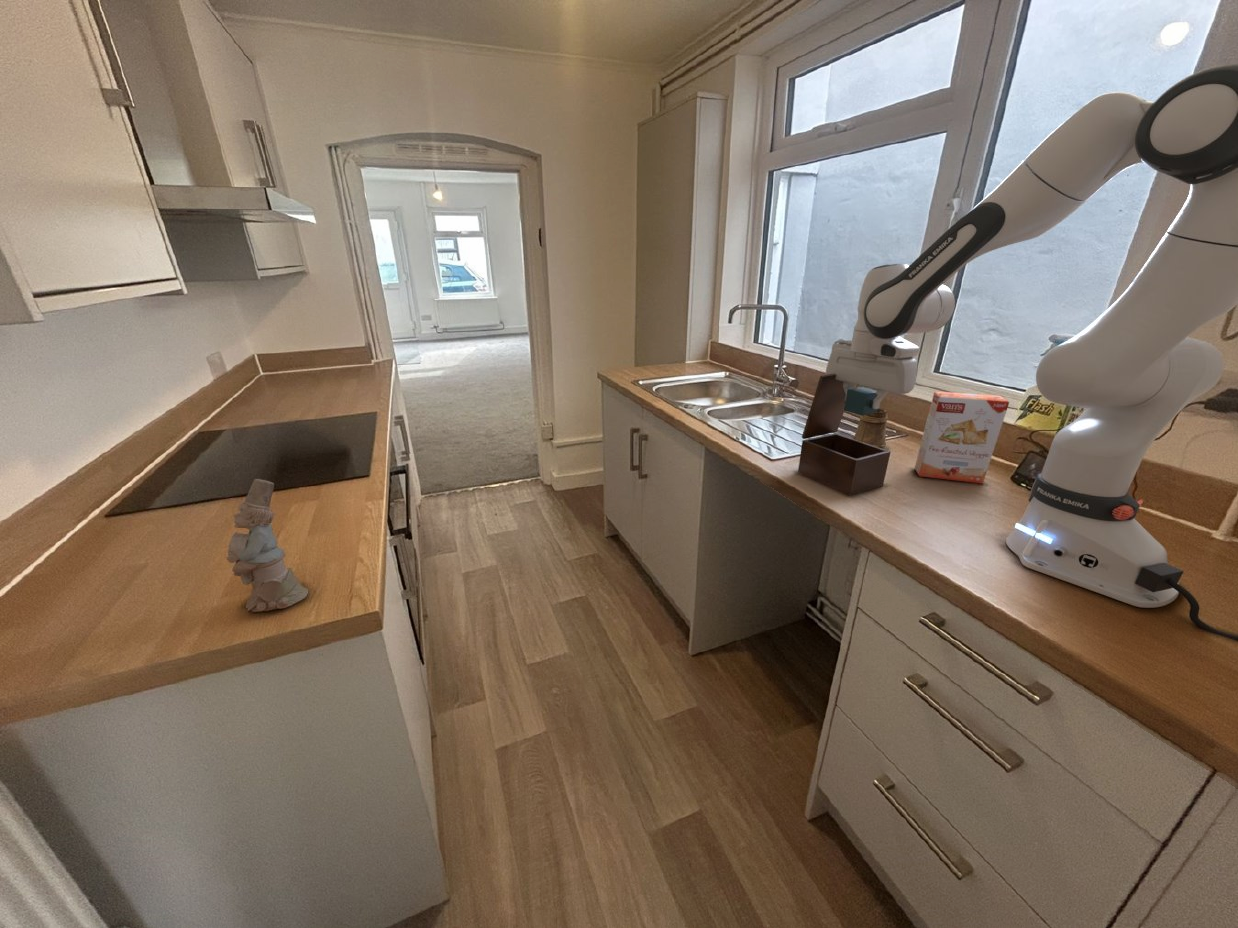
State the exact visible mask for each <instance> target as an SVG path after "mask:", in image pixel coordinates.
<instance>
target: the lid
mask: <svg viewBox="0 0 1238 928" xmlns="http://www.w3.org/2000/svg"><path fill="white" fill-rule="evenodd" d="M835 378H836V374H828V375H826V374H821V375H820V376H819V379H818V382H817V386H816V388H815V389H816V390H815V392H814V396H813V399H812V402H811V405H810V407H809V408H810V409H809V412H808V416H807V418H806V421H805V426H804V427H803V428H804V429H803V432H802V435H801V439H803V440H807V439H811V438H816V437H820V436H825V435H829V434H834V433H837V432H838V430H839V428H840V425H841V421H842V419H843V416H844V413H845V410H844V407H845V397H846V394H845V391H844V388H843V381H839V380H835ZM853 387H854V386H852V388H853Z"/></svg>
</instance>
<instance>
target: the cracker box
mask: <svg viewBox="0 0 1238 928" xmlns="http://www.w3.org/2000/svg"><path fill="white" fill-rule="evenodd" d="M1009 405H1010V401H1009V400H1008V399H1006V398H1004V397H1003V396H1002V395H997V394H996V395H995V394H981V393H980V394H979V393H965V392H953V391H934V392H933V395H932V398H931V403H930V407H929V411H928V415H927V418H926V422H925V426H924V430H923V434H922V437H921V442H920V446H919V449H918V453H917V458H916V461H915V464H914V470H915V471H916V473H917V475H918V477H923V478H931V479H940V480H950V481H958V482H966V483H967V482H968V483H974V484H975V483H976V484H984V482H985V478H986V475H987V474H988V469H989V466H990V462H991V461H992V457H993V454H994V450H995V448H996V444H997V442H998V438H999V435H1000V432H1001V429H1002V426H1003V424H1004V420H1005V417H1006V413H1007V411H1008V407H1009Z"/></svg>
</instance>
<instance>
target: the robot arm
mask: <svg viewBox="0 0 1238 928" xmlns="http://www.w3.org/2000/svg"><path fill="white" fill-rule="evenodd" d="M1139 164H1145V165H1146V166H1147V167H1148V168H1150V169H1152V170H1154V171H1156V172H1158V173H1161V174H1164V175H1166V176H1169V177H1172V178H1174V179H1176V180H1178V181H1180V182H1183V183H1185V184H1187V185H1190V189H1189V194H1188V196H1187V199H1186V201H1184V204H1183V206H1182V207H1181V209H1180V211H1179V212H1178V214H1177V215H1176V217H1175V219H1174V220H1173V222H1172V223H1171V224H1170V226H1169V227H1168V229H1167V230H1166V232H1165V234H1164V235H1163V236H1162V238H1161V240H1160V241H1159V243H1158V244H1157V246H1156V247H1155V249H1154V250H1153V252H1152V253H1151V255H1150V256H1149V258H1148V259H1147V260H1146V262H1145V263H1144V265H1142V266H1143V267H1142V268H1141V269H1140V271H1139V272H1138V273H1137V275H1136V276H1135V278H1134V279H1133V281H1132V282H1131V283H1130V284H1129V286H1128V287H1127V288H1126V289H1125V290H1124V292H1123V293H1122V294H1121V295H1120V296H1119V297H1118V298H1117V299H1116V300H1115V301H1114V302H1113V303H1112V304H1111V305H1110V306H1109V307H1108V308H1107V309H1106V310H1105V311H1103V312H1102V313H1101V314H1100V315H1099V316H1098V317H1097V318H1096V319H1094V321H1093V322H1091V323H1090V324H1089V325H1088V326H1086V327H1084V329H1082V330H1081V331H1080V332H1078V333H1077V334H1076V335H1074V336H1073V337H1071V338H1069V339H1068V340H1066V341H1063V342H1062V343H1060V344H1058V345H1056V346H1054V347H1052V348H1051V349H1050V350H1048V351H1047V352H1046V353H1045V355H1044V356H1043V357H1041V359H1040V361H1039V363H1038V365H1037V368H1036V371H1035V372H1036V373H1035V382H1036V383H1035V384H1036V386H1037V389H1038V391H1039V393H1040V394H1041V395H1042V396H1043V397H1044V398H1045V399H1046V400H1047V401H1050V402H1051V403H1054V404H1059V405H1064V406H1069V407H1075V408H1081V409H1085V410H1084V411H1083V412H1082V413H1081V414H1080V415H1079V416H1078V417H1077V418H1076V419H1074V420H1073V421H1072V422H1071V423H1069V424H1067V425H1065V426H1064V427H1063V428H1061V429H1060V430H1059V431H1058V432H1057V433H1056V434H1055V435H1054V437H1053V439H1052V442H1051V445H1050V447H1049V451H1048V454H1047V456H1046V459H1045V462H1044V464H1043V467H1042V470H1041V473H1037V476H1036V479H1035V480H1034V482H1033V484H1032V486H1031V489H1030V493H1029V498H1028V502H1029V503H1028V505H1027V507H1026V509H1025V511H1024V512H1023V515H1022V516H1021V518H1020V519H1019V522H1017V523H1015V526H1014V528H1013V530H1012V531H1011V533H1010V534H1009V535H1008V536H1007V537H1006V538H1005V543H1006V546H1007V547H1008V549H1010V551H1012V552H1013V553H1014V554H1015V555H1016V556H1017V557H1018V558H1019V561H1020V563H1021V564H1022V565H1023V566H1024V567H1025V568H1027V569H1030V570H1033V571H1036V572H1039V573H1042V574H1044V575H1047V576H1050V577H1052V578H1056V579H1058V580H1061V581H1064V582H1067V583H1069V584H1072V585H1074V586H1078V587H1080V588H1083V589H1086V590H1089V591H1092V592H1093V593H1094V592H1095V593H1097V594H1100V595H1102V596H1106V597H1108V598H1111V599H1114V600H1117V601H1120V602H1121V603H1124V604H1128V605H1131V606H1133V607H1138V608H1142V609H1143V608H1144V609H1151V608H1154V609H1155V608H1160V607H1164V606H1167V605H1169V604H1171V603H1172V602H1174V601H1175V600H1176V599H1177V598H1178V596H1179V595H1181V596H1182V597H1183V598H1185V600H1186V601H1187V602H1188V604H1189V614H1188V616H1189V619H1190V621H1191V622H1192V623H1193V624H1194V625H1195V626H1197V627H1198V628H1200V629H1202V630H1204V631H1207V632H1209V633H1212V634H1216V635H1219V636H1223V637H1225V638H1228V639H1231V640H1234V641H1238V635H1236V634H1232V633H1228V632H1224V631H1221V630H1218V629H1216V628H1213V627H1212V626H1210V625H1208V624H1206V623H1205V622H1204V621H1203V620H1201V619H1200V617H1199V612H1200V605H1199V603H1198V600H1197V599H1196V598H1195V596H1194V595H1193V594H1192V593H1191V592H1190V591H1188V590H1187V589H1186V588H1184V587H1183V586H1182V585H1181V584H1180V583H1179V581H1180V579H1181V577H1182V576H1183V573H1184V570H1182V569H1181V568H1177V567H1176V566H1174V565H1171V564H1168V559H1169V557H1168V553H1167V549H1166V548H1165V547H1164V546H1163V545H1162V544H1161V543H1160V542H1159V541H1158V540H1157V539H1155V537H1154V536H1152V534H1151V533H1150V532H1148V530H1147V529H1145V528H1144V527H1143V526H1142V524H1140V522H1138V520H1136V519H1135V517H1137V514H1138V512H1139V510H1140V508H1141V507H1142V504H1143V503H1144V500H1143V499H1140V500H1138V501H1137V500H1136V499H1135V498H1134V497H1133V495H1131V494H1130V493H1129V489H1130V488H1131V487H1130V486H1131V484H1132V482H1133V480H1134V478H1135V476H1136V473H1137V472H1138V470H1139V467H1140V465H1141V464H1142V461H1143V459H1144V457H1145V455H1146V454H1147V452H1148V451H1149V448H1150V447H1151V446H1152V444H1153V443H1154V442H1155V441H1156V439H1157V438H1158V437H1159V435H1160V434H1161V433H1162V432H1163V431H1164V430H1165V428H1166V427H1167V426H1168V425H1169V424H1170V423H1171V422H1172V421H1173V420H1174V418H1175V417H1176V416H1177V415H1178V414H1179V413H1180V412H1181V411H1182V410H1183V409H1184V408H1186V406H1188V405H1189V404H1190V403H1191V402H1193V401H1194V400H1195V399H1197V398H1198V397H1201V396H1202V395H1204V394H1206V393H1208V392H1209V391H1210V390H1212V389H1213V388H1214V387H1215V386H1216V385H1217V384H1218V383H1219V381H1220V380H1221V378H1222V376H1223V374H1224V371H1225V360H1224V356H1223V353H1221V351H1220V350H1219V349H1218V347H1216V346H1215V345H1213V344H1211V343H1210V342H1207V341H1204V340H1201V339H1197V338H1193V337H1189V336H1191V335H1192V334H1193V333H1195V332H1196V331H1198V330H1199V329H1200V328H1201V327H1203V326H1205V325H1207V324H1208V323H1210V322H1212V321H1214V320H1216V319H1218V318H1220V317H1222V316H1224V315H1226V314H1227V313H1229V312H1230V311H1231V310H1232V309H1234V308H1235V307H1236V306H1238V63H1226V64H1221V65H1220V64H1219V65H1214V66H1211V67H1207V68H1204V69H1202V70H1199V71H1197V72H1195V73H1194V72H1193V74H1190V75H1188V76H1186V77H1184V78H1183V79H1181V80H1180V81H1178V82H1176V83H1174V84H1173V85H1172V86H1170V87H1169V88H1168V89H1166V90H1165V91H1164V92H1163V93H1162V94H1160V96H1159V97H1157V98H1156V99H1155V100H1154V101H1150V100H1146V99H1144V98H1143V97H1141V96H1138V95H1137V94H1133V93H1130V92H1124V91H1112V92H1106V93H1103V94H1100V95H1098V96H1096V97H1094V98H1092V99H1090V100H1089V101H1088V102H1086V103H1085V104H1084V105H1083V106H1082V107H1081V108H1079V109H1078V110H1076V111H1075V112H1074V113H1073V114H1071V116H1069V117H1068V118H1067V119H1066V120H1064V121H1063V122H1062V123H1061V124H1060V125H1059V126H1057V128H1055V129H1054V130H1053V131H1052V132H1051V133H1050V134H1049V135H1047V136H1046V137H1045V138H1044V139H1043V140H1042V141H1041V142H1040V143H1039V144H1038V145H1037V146H1036V147H1035V148H1034V149H1033V150H1031V152H1030V153H1029V154H1028V155H1027V156H1026V157H1025V158H1024V159H1023V160H1022V161H1021V163H1019V164H1018V166H1016V167H1015V168H1014V169H1013V171H1011V172H1010V174H1008V176H1006V178H1005V179H1004V180H1002V182H1000V184H999V185H997V186H996V187H995V188H994V189H993V190H991V192H990V193H988V194H987V196H986V197H984V198H983V199H982V200H981V201H980V202H979V203H978V204H976V205H975V206H974V207H973V208H972V209H970V210H969V211H967V213H965V215H963V216H962V217H961V218H960V219H959V220H957V221H956V222H955V223H954V224H953V225H951V226H950V227H949V228H948V229H947V230H946V231H945V232H943V234H941V236H939V237H938V238H937V239H936V240H934V242H933V243H932V244H931V245H930V246H929V247H928V248H927V249H925V250H924V251H923V252H922V253H921V254H920V255H919V256H918V257H917V258H916V259H915V260H914V261H913V262H911V263H910V265H908V264H906V263H891V264H883V265H878V266H875V267H873V268H872V269H870V270H869V271H868V272H867V274H866V275H865V277H864V280H863V281H862V282H863V283H862V286H861V290H860V294H859V298H858V304H857V319H856V322H855V325H854V328H853V331H852V337H851V338H852V339H851V340H849V339H847V340H846V339H844V338H843V339H842V338H840V339H837V340H836V341H834V343H832V346H831V352H830V354H829V358H828V361H827V364H826V369H825V375H828V374H836V378H835V380H839V381H843V388H844V391H845V394H846V396H847V390H848V389H853V387H854V386H855V385H856V386H857V385H861V386H865V387H869V388H873V389H876V394H878V395H877V397H876V398H875V399H874V400H870V403H869V408H873V409H878V408H880V406H881V403H882V401H883V400H884V399H885V398H886V396H887V395H888V393H891V394H894V395H895V394H896V395H906V394H909V393H911V392H912V391H913V390H914V388H915V385H916V382H917V381H916V380H917V374H918V362H917V359H916V358H915V357H917V356H918V355H919V352H920V347H919V346H918V345H916V344H915V343H912V342H911V341H909V340H907V339H904V338H903V337H901V336H909V335H916V334H924V333H929V332H933V331H936V330H939V329H941V328H943V327H945V326H946V324H948V322H950V320H951V319H952V317H953V315H954V313H955V310H956V306H957V305H956V296H955V294H954V292H953V290H952V289H951V287H949V286H948V285H946V284H945V283H946V282H948V280H950V279H951V278H952V277H953V276H954V275H956V274H957V273H958V272H959V271H960V270H961V269H962V268H964V267H965V266H966V265H968V264H969V263H970V262H972V261H973V260H975V259H976V258H979V257H981V256H983V255H985V254H987V253H990V252H992V251H995V250H997V249H1001V248H1004V247H1007V246H1011V245H1014V244H1017V243H1022V242H1026V241H1030V240H1032V239H1035V238H1038V237H1040V236H1042V235H1043V234H1045V233H1046V232H1048V231H1050V230H1051V229H1052V228H1054V227H1056V226H1057V225H1058V224H1060V223H1061V222H1063V221H1064V220H1066V219H1067V218H1068V217H1069V216H1071V215H1072V214H1073V213H1074V212H1076V211H1077V210H1078V209H1079V208H1080V207H1081V206H1082V205H1083V204H1085V203H1086V201H1088V200H1089V199H1090V198H1092V197H1093V195H1095V194H1096V193H1097V192H1098V191H1099V190H1100V189H1101V188H1103V187H1104V186H1105V185H1106V184H1107V183H1108V182H1110V181H1111V180H1113V178H1115V177H1116V176H1117V175H1119V174H1120V173H1122V172H1123V171H1125V170H1127V169H1129V168H1131V167H1133V166H1135V165H1139ZM852 386H853V387H852ZM845 401H846V397H845Z"/></svg>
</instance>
